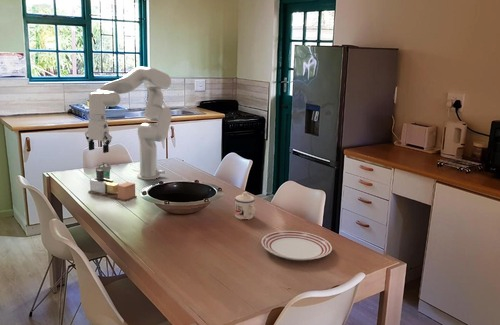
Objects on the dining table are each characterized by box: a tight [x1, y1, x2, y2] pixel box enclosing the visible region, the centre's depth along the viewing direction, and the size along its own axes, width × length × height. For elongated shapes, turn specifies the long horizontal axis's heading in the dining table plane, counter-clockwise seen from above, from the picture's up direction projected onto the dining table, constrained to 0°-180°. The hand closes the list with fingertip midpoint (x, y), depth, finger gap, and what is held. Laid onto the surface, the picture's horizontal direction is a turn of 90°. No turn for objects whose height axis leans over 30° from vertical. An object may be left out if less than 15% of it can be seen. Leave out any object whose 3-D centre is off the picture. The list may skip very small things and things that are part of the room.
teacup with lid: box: [234, 191, 256, 220], centre depth 215 cm, size 12×9×12 cm
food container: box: [95, 162, 112, 180], centre depth 258 cm, size 12×6×10 cm, turn 179°
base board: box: [87, 190, 138, 203], centre depth 239 cm, size 25×8×1 cm, turn 62°
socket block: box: [118, 181, 136, 200], centre depth 234 cm, size 5×7×6 cm
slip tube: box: [95, 169, 120, 194], centre depth 239 cm, size 14×4×10 cm, turn 62°
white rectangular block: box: [89, 177, 114, 194], centre depth 241 cm, size 10×6×6 cm, turn 62°
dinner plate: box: [261, 230, 333, 261], centre depth 184 cm, size 28×27×3 cm
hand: (98, 151), depth 237 cm, fingers open, 9 cm apart
